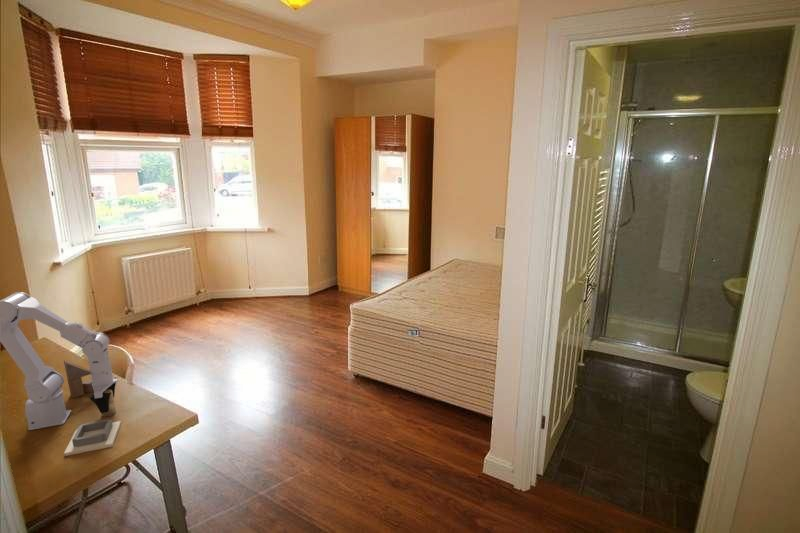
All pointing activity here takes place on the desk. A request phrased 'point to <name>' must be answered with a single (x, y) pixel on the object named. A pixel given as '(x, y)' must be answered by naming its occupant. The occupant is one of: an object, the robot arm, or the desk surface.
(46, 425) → the robot arm
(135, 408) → the desk surface
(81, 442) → the cup bracket
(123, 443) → the desk surface
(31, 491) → the desk surface
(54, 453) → the desk surface
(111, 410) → the rail end peg
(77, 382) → the wooden block
